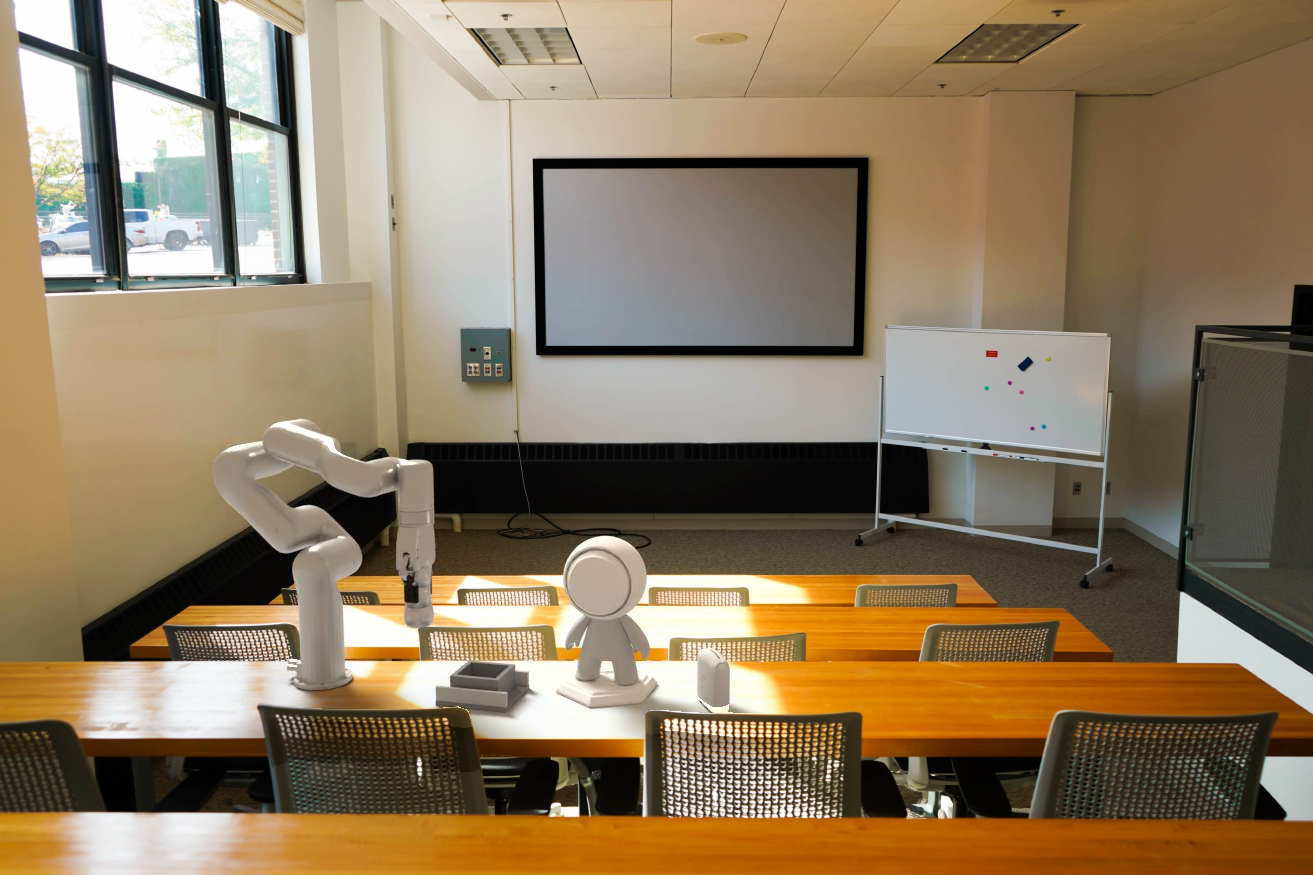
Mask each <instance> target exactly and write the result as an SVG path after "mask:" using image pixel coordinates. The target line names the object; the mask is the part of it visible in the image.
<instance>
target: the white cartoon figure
mask: <svg viewBox="0 0 1313 875" xmlns="http://www.w3.org/2000/svg"><path fill="white" fill-rule="evenodd" d="M563 568H564V569H563V573H562V584H563V588H564V592H565V594H566V597H567V599H568V601H569V602H570V604H571V605H572V607H574V609H576V610H577V611H578V612H579V613H580V614H582V615H581V616H580V618H578V619H577V620H576V621H575V623H573V625H572V626H571V627H570V629H569V631H568V632H567V635H566V637H565V642H564V646H565V650H566V651H567V652H569V651H571V649H573V648H574V647H576V648H579V646H580V643H581V641H582V638H583V636H584V639H583V642H582V644H581V648H580V652H579V656H578V662H577V667H576V670H575V671H574V672H573V673H571V674H570V675H569V676H568V677H567V678H566V679H565V680H564V681H563V682H561V683H560V685H559V686H558V687H557V688H556V692H555V693H556V694H559V695H560V696H562V695H563V697H564V698H567V699H570V700H571V701H574V702H575V703H578V704H581V705H583V706H585V707H587V708H589V709H591V708H601V707H602V708H603V707H612V706H613V707H614V706H624V705H637V704H639V705H640V704H642V703H643V702H644V701H646V699H647V698H648V697H649V695H650V694H651V692H652V691H653V690H654V689H655V687H657V685H658V681H657V680H656V679H655V678H654V677H653V676H651V675H648V674H646V673H643V672H642V671H641V672H640V671H638V668H637V662H636V658H635V654H638V653H639V654H640V655H641V659H643V660H646V659H647V658H649V656H650V654H651V646H650V643H649V642H650V641H649V640H648V637H647V636H646V634H645V633H644V631H643V630H642V629H641V627H640V626H639V624H638V623H637V622H636V621H635V620H634V619H633V618H632V617H631V616H630V615H628V614H629V613H630V612H631V611H632V610H633V609H634V608H635V607H637V605H638V604H639V602H640V601H641V600H642V597H643V596H644V593H645V591H646V586H647V577H648V576H647V575H648V574H647V568H646V564H645V562H644V560H643V558H642V556H641V554H640V553H639V551H638V550H637V549H636V548H635V547H634V546H633V545H632V544H631V543H629V542H628V541H626V540H624V539H622V538H619V537H616V536H609V535H600V536H595V537H591V538H589V539H587V540H585V541H583V542H582V543H580V544H579V545H577V546H576V547H575V548H574V550H573V551H572V552H571V553H570V554H569V556H568V557H567V560H566V562H565V565H564V567H563ZM603 661H608V662H609V661H611V665H610V664H609V665H602V662H603Z"/></svg>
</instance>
